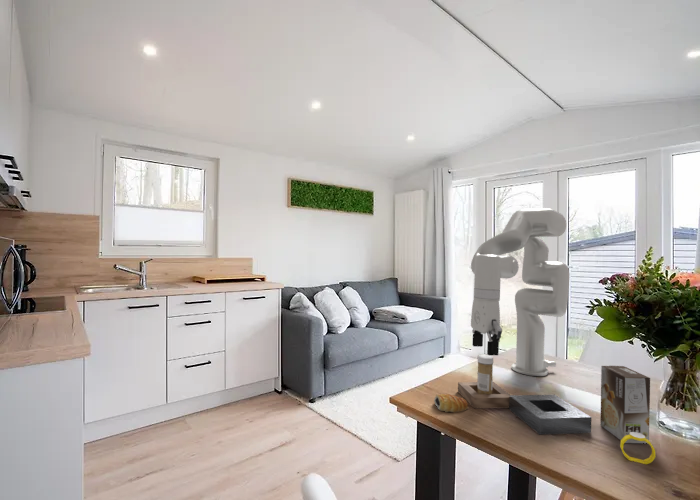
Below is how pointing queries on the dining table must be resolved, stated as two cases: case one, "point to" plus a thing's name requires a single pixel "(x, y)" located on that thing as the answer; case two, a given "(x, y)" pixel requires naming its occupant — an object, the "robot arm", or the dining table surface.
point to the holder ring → (484, 396)
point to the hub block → (549, 414)
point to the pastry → (450, 403)
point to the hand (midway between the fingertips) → (484, 350)
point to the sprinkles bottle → (485, 374)
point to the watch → (640, 438)
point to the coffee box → (625, 402)
